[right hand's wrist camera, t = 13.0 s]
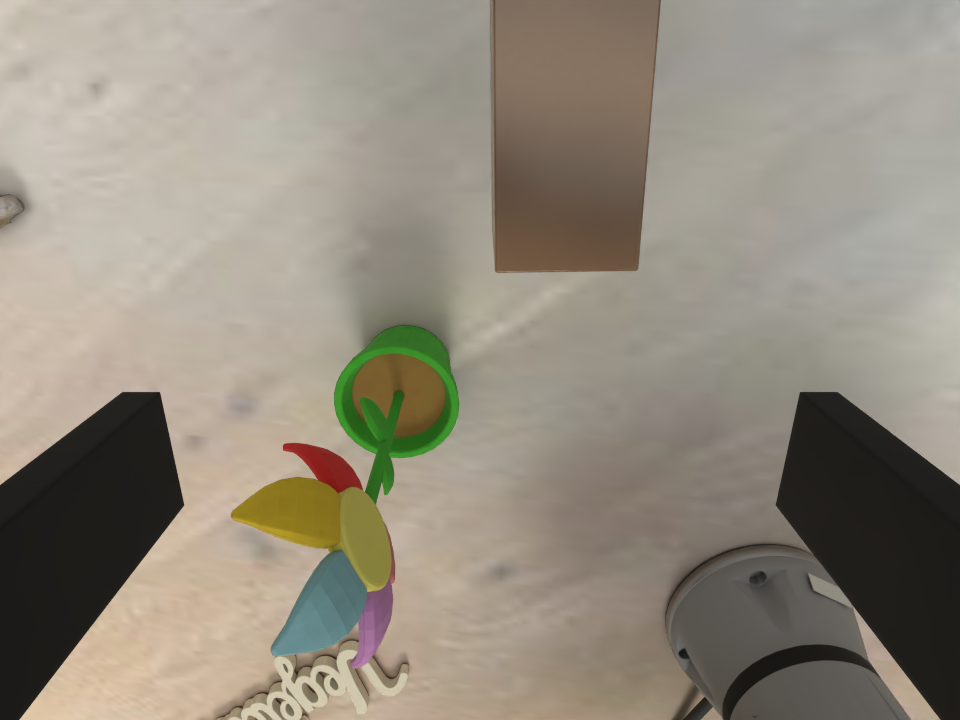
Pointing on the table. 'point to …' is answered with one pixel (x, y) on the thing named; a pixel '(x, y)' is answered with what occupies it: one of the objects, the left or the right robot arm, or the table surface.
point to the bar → (570, 132)
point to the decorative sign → (317, 687)
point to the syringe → (9, 208)
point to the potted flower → (357, 490)
